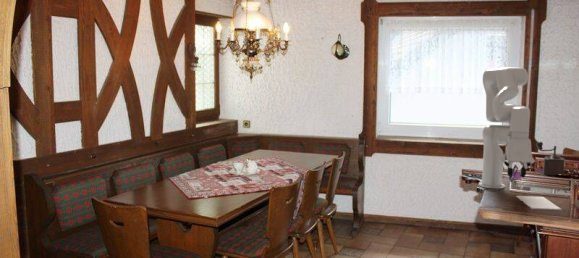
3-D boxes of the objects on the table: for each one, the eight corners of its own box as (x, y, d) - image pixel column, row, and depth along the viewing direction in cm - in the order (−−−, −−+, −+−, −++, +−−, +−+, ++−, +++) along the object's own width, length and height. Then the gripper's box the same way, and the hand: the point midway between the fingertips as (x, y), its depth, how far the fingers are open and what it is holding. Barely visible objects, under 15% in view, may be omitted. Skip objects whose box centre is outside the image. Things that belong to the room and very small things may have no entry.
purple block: (513, 163, 237) (515, 167, 229) (525, 168, 236) (527, 171, 228) (507, 177, 239) (509, 181, 230) (518, 181, 238) (521, 185, 229)
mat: (516, 196, 250) (516, 195, 250) (543, 197, 249) (543, 196, 249) (531, 208, 229) (531, 207, 229) (561, 210, 227) (561, 208, 227)
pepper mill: (563, 173, 311) (565, 142, 309) (563, 176, 301) (565, 145, 299) (534, 170, 318) (536, 141, 316) (533, 173, 308) (535, 143, 306)
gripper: (501, 136, 227) (498, 177, 230) (542, 137, 225) (539, 179, 227) (496, 133, 235) (494, 174, 237) (536, 135, 233) (533, 175, 235)
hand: (516, 176), depth 232 cm, fingers closed on purple block, 4 cm apart
